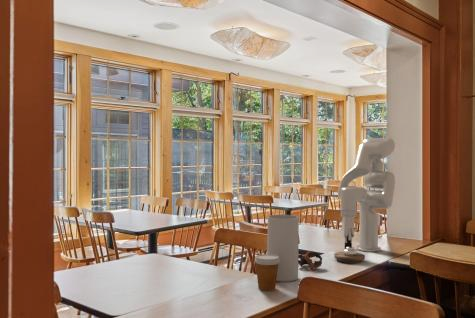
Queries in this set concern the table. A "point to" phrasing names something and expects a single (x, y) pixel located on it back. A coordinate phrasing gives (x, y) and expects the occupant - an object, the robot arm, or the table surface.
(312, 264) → the brown ornate stand
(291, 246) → the cylinder vase
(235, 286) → the table surface
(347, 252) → the cover
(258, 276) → the disposable coffee cup
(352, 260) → the disc
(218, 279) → the table surface
